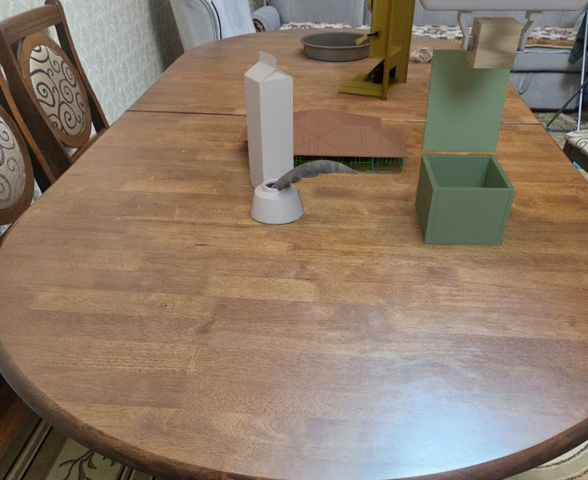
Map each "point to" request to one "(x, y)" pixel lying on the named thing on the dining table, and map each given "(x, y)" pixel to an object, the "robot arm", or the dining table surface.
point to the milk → (269, 120)
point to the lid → (463, 104)
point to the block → (494, 42)
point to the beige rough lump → (421, 54)
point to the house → (344, 136)
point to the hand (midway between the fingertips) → (491, 50)
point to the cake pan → (335, 46)
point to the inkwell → (288, 192)
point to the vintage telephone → (385, 48)
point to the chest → (463, 199)
